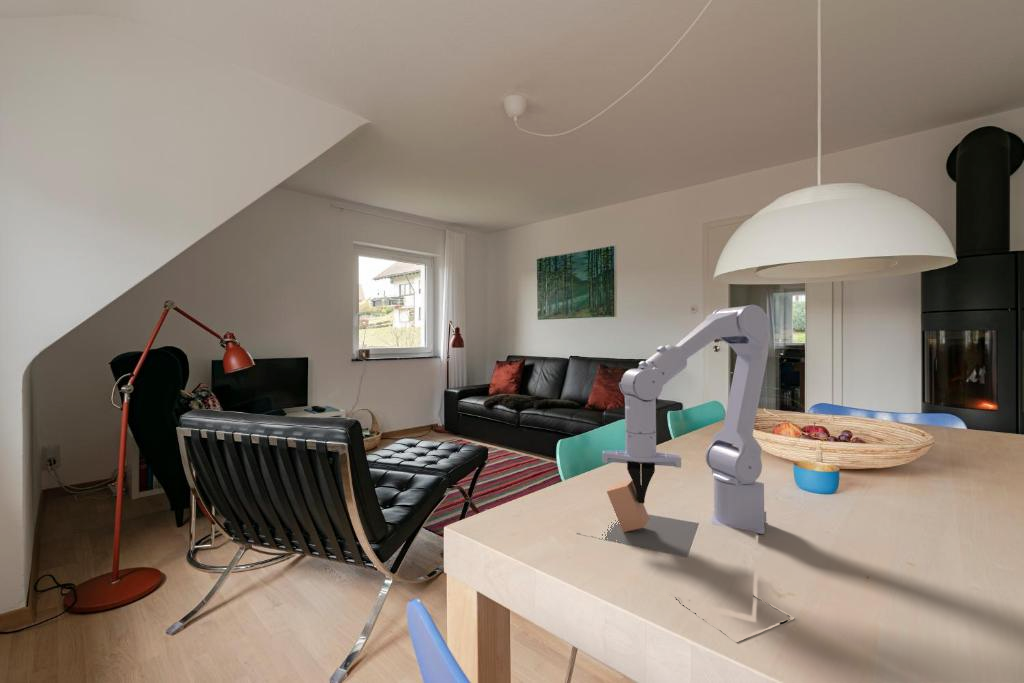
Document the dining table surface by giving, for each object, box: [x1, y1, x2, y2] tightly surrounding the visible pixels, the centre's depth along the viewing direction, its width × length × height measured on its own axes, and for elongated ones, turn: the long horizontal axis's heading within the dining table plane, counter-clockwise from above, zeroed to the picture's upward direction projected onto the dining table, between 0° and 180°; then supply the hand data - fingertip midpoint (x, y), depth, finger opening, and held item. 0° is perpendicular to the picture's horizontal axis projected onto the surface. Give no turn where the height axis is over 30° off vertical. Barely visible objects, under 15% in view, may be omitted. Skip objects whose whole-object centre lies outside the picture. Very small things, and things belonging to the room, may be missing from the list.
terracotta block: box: [606, 479, 649, 532], centre depth 88 cm, size 4×4×8 cm
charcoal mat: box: [598, 513, 699, 558], centre depth 88 cm, size 20×16×1 cm
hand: (641, 501), depth 87 cm, fingers closed
